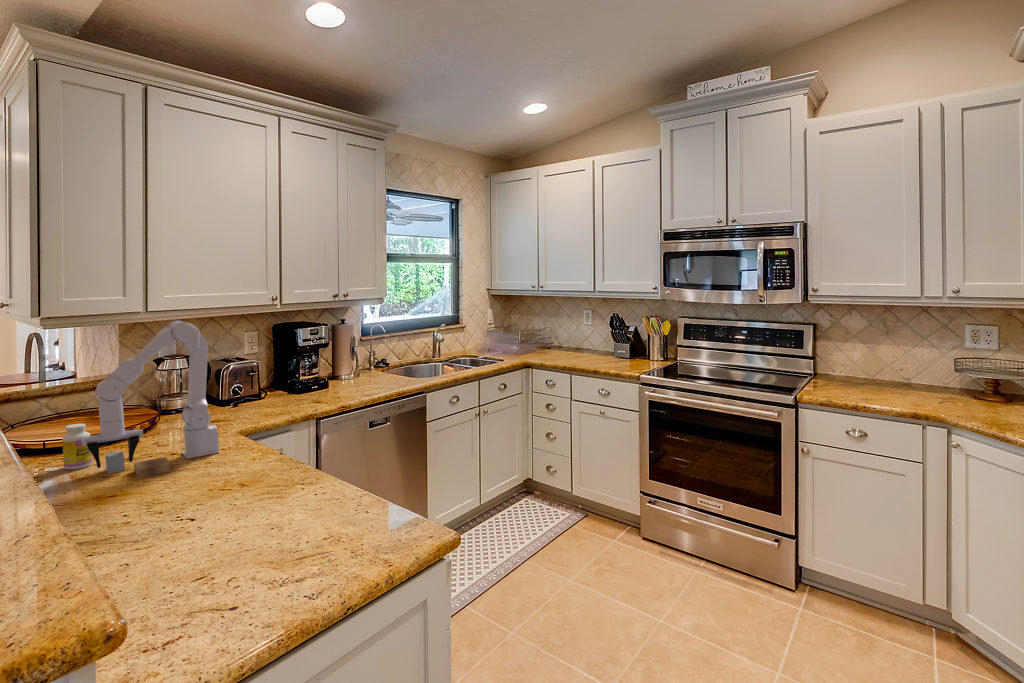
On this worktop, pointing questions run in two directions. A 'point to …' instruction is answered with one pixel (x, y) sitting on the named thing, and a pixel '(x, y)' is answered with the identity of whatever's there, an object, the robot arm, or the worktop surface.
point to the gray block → (115, 462)
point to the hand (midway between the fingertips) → (115, 463)
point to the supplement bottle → (76, 447)
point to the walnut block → (152, 467)
